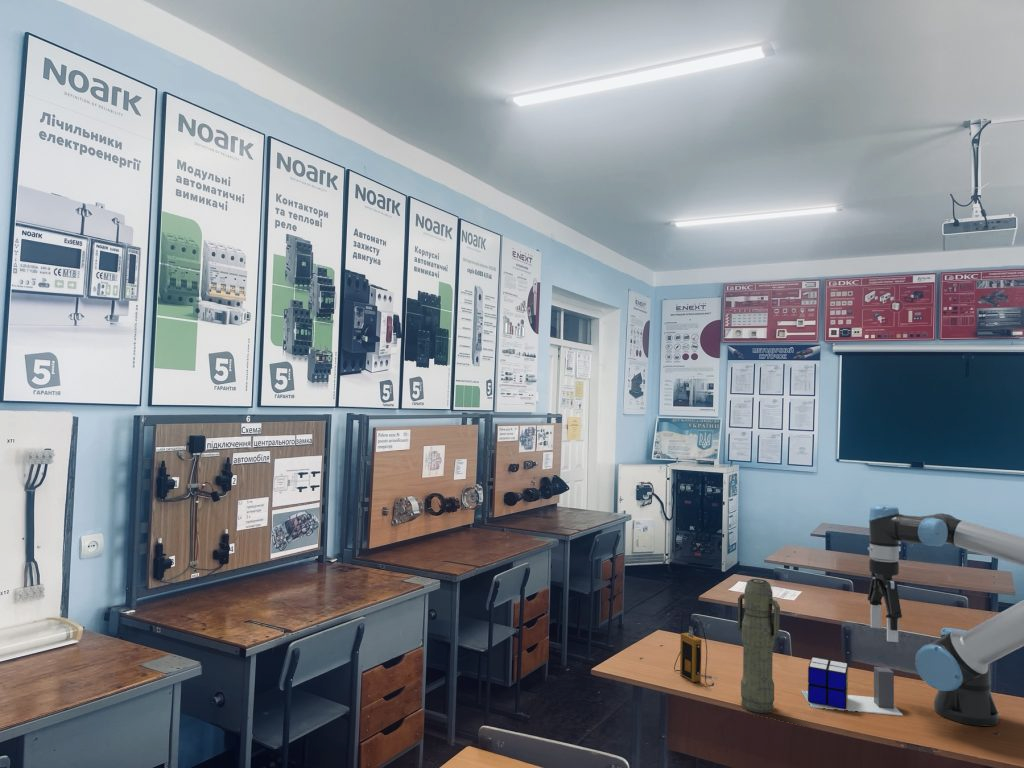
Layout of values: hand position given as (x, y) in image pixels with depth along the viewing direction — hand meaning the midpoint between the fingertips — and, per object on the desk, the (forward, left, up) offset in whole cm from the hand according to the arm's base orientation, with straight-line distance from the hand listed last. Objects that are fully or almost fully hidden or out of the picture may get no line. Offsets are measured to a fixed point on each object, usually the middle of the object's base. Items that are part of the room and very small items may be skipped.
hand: (883, 634), depth 203 cm
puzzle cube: (+15, 0, -20) cm, 25 cm away
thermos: (+36, +9, -20) cm, 42 cm away
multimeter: (+50, -11, -20) cm, 55 cm away
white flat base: (+9, 0, -20) cm, 22 cm away
